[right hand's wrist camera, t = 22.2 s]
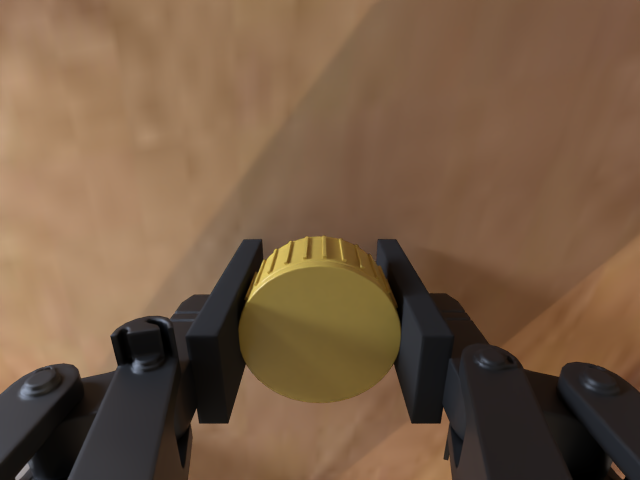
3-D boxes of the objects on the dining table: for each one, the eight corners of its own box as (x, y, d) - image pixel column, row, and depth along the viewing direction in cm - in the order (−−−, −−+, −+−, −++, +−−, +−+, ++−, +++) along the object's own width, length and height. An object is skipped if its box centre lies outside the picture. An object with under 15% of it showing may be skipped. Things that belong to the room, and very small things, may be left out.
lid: (291, 207, 11) (285, 231, 9) (416, 276, 12) (438, 313, 10) (227, 320, 13) (207, 365, 10) (343, 374, 13) (347, 426, 11)
